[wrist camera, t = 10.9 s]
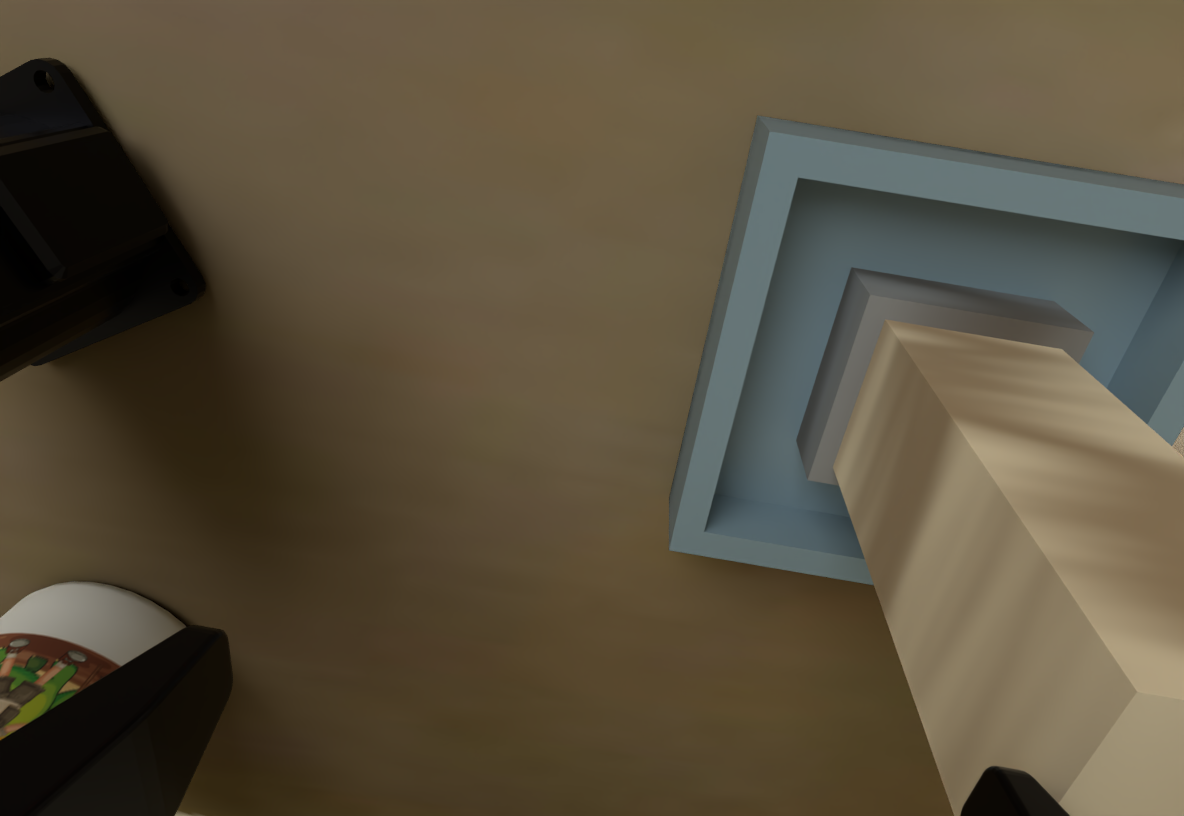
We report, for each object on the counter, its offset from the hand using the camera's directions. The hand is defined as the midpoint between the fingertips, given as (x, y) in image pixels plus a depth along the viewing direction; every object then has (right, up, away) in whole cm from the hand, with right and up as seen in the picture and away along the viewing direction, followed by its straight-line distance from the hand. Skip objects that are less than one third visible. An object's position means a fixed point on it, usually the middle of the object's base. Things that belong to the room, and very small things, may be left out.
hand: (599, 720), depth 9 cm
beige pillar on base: (+8, +5, +11) cm, 14 cm away
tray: (+8, +5, +11) cm, 15 cm away
